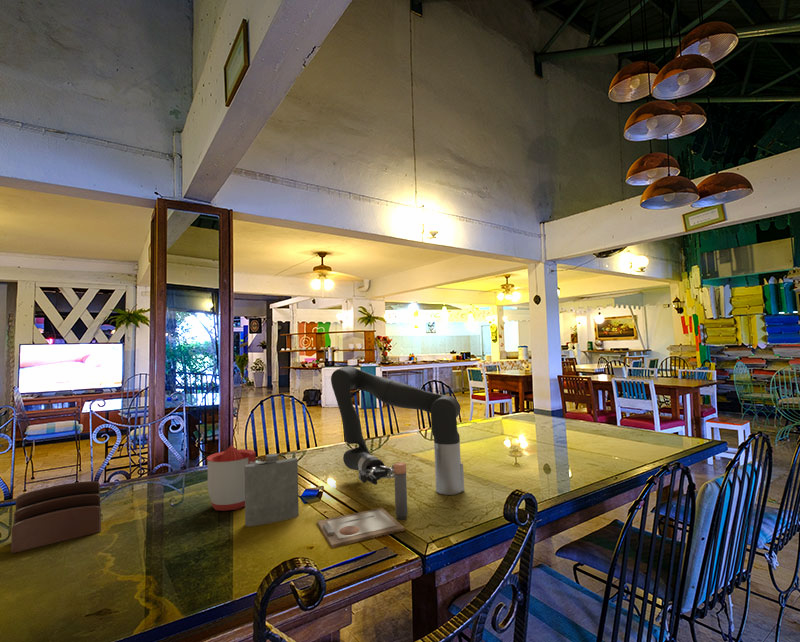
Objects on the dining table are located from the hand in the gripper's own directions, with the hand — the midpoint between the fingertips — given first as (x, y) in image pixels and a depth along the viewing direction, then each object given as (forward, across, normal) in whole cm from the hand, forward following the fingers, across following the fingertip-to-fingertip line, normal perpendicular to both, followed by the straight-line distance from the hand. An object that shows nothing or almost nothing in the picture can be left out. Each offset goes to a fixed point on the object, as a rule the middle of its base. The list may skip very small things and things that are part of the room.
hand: (388, 479), depth 136 cm
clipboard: (+10, -14, +9) cm, 19 cm away
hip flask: (-8, -36, +9) cm, 38 cm away
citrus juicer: (-28, -46, +9) cm, 54 cm away
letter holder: (-28, -94, +9) cm, 98 cm away
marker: (+10, 0, +9) cm, 13 cm away
